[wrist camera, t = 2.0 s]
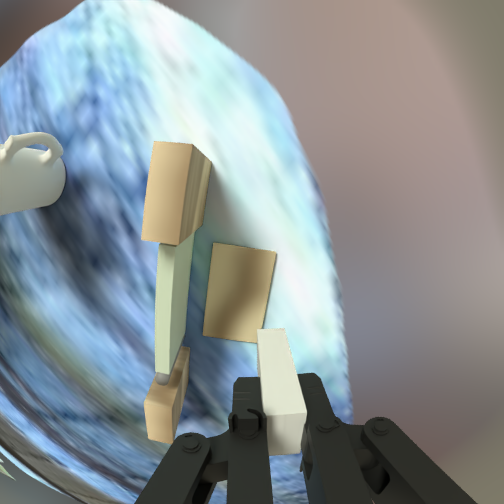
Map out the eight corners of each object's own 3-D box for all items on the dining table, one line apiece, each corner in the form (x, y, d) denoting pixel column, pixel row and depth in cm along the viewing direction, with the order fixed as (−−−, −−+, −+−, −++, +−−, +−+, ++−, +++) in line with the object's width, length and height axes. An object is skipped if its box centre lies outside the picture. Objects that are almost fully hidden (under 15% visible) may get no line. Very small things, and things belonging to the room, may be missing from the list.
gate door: (184, 340, 28) (168, 386, 20) (174, 338, 28) (155, 384, 20) (194, 230, 25) (174, 247, 18) (182, 228, 25) (157, 245, 18)
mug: (40, 218, 25) (-33, 236, 13) (24, 172, 23) (-47, 174, 12) (97, 169, 24) (18, 164, 12) (77, 121, 23) (5, 97, 11)
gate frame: (169, 379, 29) (148, 438, 20) (187, 159, 24) (154, 141, 14) (248, 391, 30) (250, 454, 20) (289, 174, 25) (317, 164, 15)
